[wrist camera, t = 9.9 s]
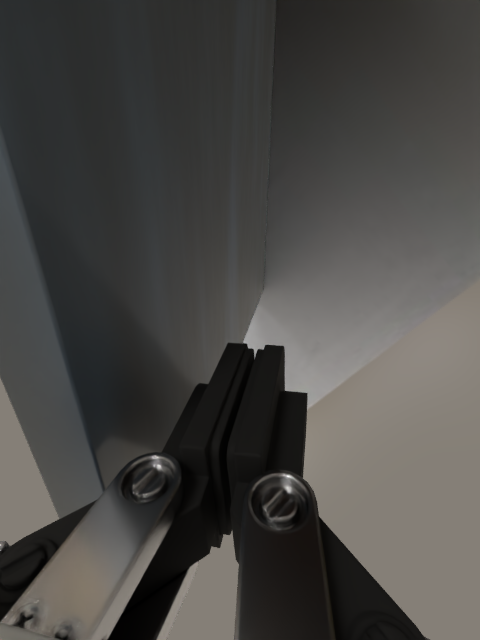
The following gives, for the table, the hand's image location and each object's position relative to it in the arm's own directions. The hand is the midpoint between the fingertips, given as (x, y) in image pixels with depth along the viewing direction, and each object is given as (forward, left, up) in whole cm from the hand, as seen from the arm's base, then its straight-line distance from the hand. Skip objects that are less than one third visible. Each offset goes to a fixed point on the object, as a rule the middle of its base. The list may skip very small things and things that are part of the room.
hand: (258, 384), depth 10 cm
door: (-4, +9, -20) cm, 22 cm away
